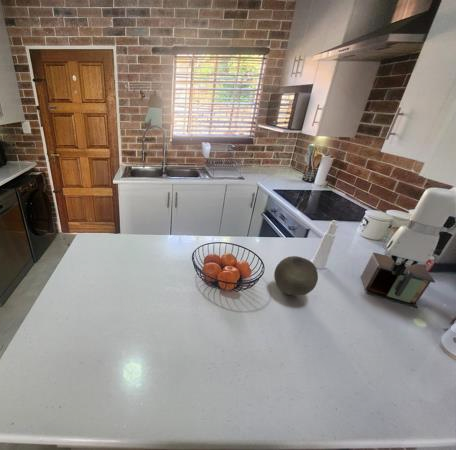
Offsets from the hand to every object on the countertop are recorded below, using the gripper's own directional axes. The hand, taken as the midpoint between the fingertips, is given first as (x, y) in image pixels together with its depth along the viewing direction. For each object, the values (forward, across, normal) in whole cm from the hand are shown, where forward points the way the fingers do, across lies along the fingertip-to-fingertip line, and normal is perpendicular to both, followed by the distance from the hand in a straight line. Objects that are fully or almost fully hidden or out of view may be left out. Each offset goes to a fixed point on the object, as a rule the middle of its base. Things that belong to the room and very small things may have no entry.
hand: (395, 273), depth 87 cm
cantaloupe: (+13, +30, +14) cm, 35 cm away
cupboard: (+12, -4, -8) cm, 15 cm away
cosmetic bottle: (+12, +20, -13) cm, 27 cm away
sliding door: (+11, -5, -1) cm, 13 cm away
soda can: (+12, -14, -23) cm, 30 cm away
